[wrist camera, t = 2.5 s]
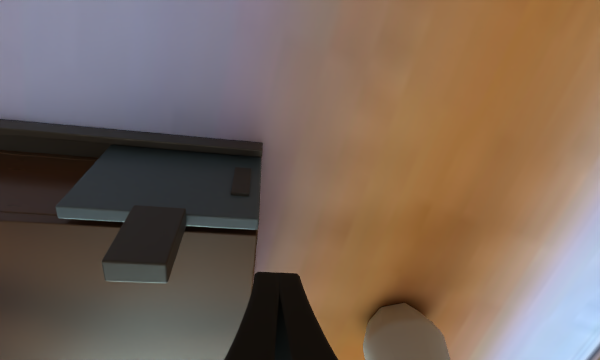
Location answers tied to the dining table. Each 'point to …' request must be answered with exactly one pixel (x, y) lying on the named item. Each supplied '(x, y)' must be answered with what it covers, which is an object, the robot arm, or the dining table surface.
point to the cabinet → (91, 250)
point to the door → (162, 203)
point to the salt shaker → (403, 336)
